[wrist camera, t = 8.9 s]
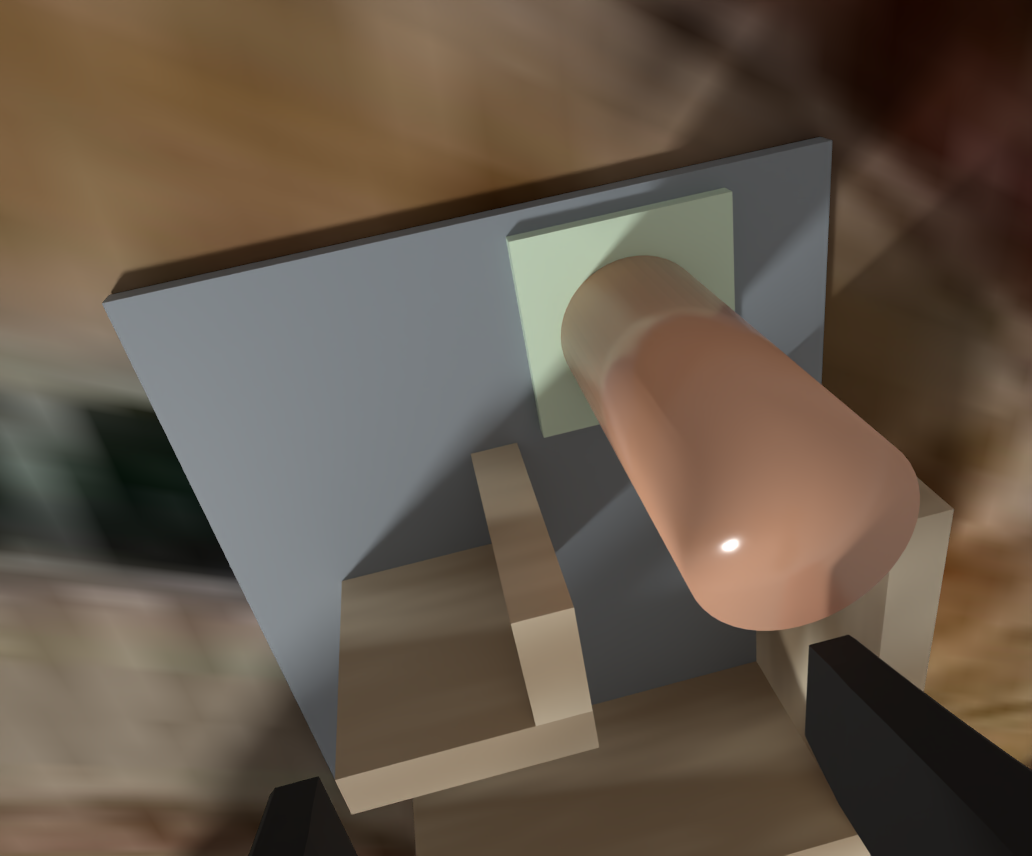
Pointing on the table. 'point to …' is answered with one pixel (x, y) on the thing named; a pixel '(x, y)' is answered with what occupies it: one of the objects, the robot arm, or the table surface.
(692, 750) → the tan piece
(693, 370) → the peg
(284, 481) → the board
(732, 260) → the pad
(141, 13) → the table surface
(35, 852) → the table surface
